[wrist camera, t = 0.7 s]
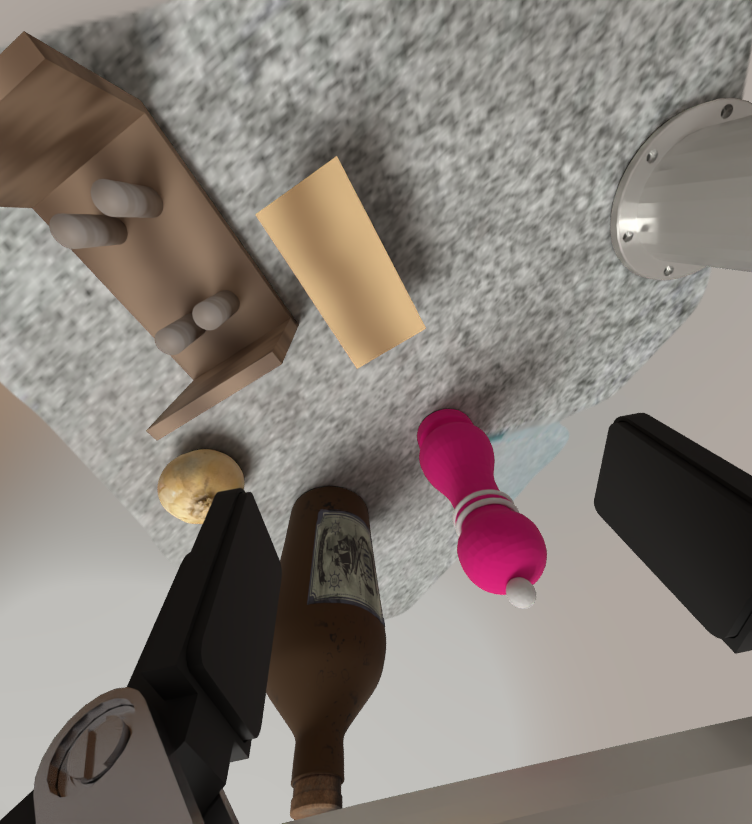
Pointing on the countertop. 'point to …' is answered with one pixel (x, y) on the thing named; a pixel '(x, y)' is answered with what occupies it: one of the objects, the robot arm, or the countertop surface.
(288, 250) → the oak board
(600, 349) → the countertop surface
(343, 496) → the olive oil
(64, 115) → the shelf cradle
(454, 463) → the pepper mill
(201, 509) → the onion
